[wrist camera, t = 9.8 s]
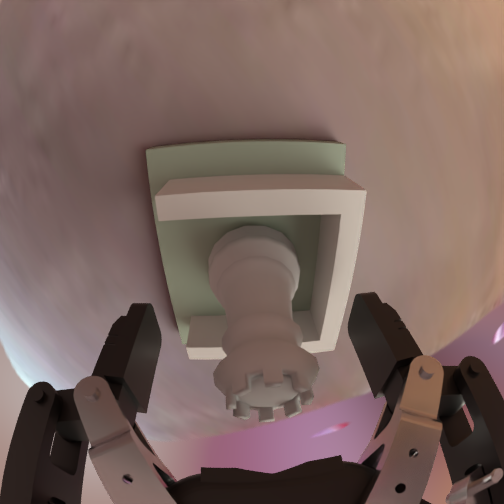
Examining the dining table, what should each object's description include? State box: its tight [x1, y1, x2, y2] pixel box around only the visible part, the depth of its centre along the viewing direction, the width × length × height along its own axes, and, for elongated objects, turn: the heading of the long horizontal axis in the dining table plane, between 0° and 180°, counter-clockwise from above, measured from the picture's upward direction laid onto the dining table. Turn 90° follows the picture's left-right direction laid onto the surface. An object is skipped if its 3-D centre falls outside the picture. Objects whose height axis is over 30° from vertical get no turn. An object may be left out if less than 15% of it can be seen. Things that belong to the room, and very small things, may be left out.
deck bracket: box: [146, 139, 367, 359], centre depth 13 cm, size 12×9×4 cm
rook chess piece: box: [208, 226, 320, 422], centre depth 10 cm, size 4×4×8 cm
